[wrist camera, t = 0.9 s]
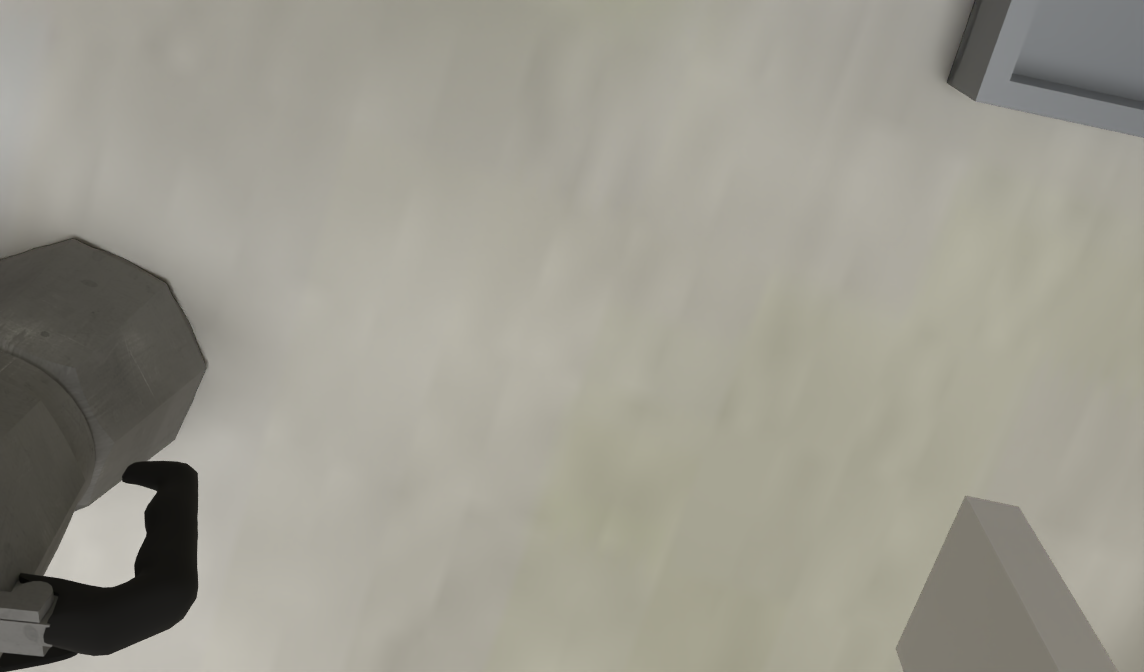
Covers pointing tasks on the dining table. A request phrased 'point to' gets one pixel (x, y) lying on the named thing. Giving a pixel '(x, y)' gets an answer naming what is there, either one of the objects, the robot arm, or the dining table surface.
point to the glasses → (32, 659)
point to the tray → (1057, 60)
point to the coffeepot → (91, 444)
